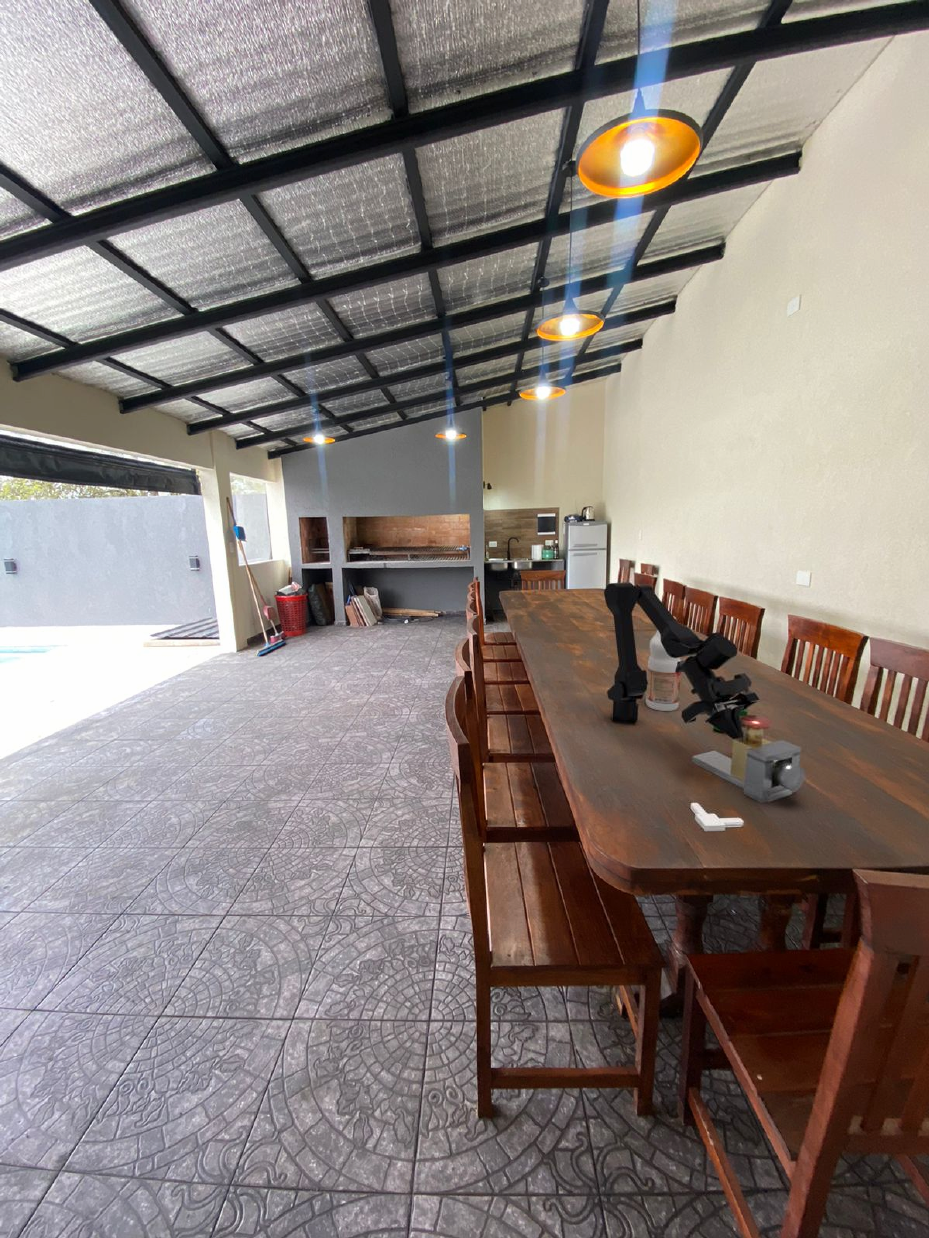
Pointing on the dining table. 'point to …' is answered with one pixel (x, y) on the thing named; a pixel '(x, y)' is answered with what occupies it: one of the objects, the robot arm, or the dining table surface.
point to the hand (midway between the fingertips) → (741, 742)
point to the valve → (749, 743)
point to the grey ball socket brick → (761, 770)
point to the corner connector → (713, 820)
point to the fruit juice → (662, 678)
